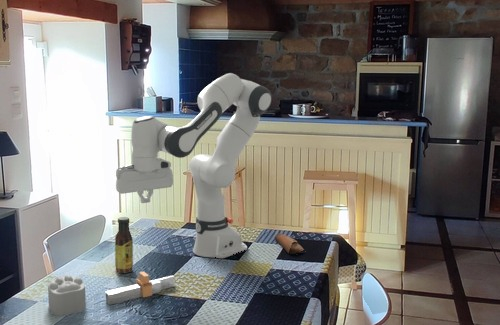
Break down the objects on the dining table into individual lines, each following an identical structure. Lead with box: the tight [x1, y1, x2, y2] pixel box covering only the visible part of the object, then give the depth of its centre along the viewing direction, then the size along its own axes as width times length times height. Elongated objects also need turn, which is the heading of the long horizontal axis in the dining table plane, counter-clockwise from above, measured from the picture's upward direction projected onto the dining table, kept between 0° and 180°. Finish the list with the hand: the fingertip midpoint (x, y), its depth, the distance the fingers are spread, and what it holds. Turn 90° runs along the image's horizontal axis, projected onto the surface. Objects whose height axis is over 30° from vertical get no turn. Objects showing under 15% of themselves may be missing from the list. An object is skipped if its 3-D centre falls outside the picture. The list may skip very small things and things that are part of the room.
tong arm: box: [107, 281, 162, 306], centre depth 176 cm, size 18×1×4 cm, turn 126°
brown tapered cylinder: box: [274, 233, 305, 254], centre depth 226 cm, size 18×7×7 cm
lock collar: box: [135, 270, 153, 298], centre depth 178 cm, size 3×5×7 cm, turn 36°
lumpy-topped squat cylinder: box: [47, 274, 87, 317], centre depth 169 cm, size 10×13×9 cm
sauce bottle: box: [114, 216, 134, 274], centre depth 195 cm, size 7×6×20 cm
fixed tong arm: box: [105, 275, 176, 305], centre depth 178 cm, size 24×1×4 cm, turn 126°
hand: (145, 202), depth 189 cm, fingers closed
